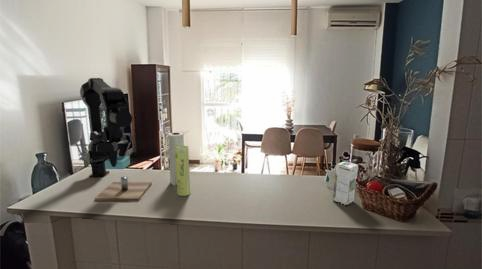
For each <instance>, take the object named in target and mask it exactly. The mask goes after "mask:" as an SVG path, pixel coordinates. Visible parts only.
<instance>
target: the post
mask: <svg viewBox="0 0 482 269" xmlns="http://www.w3.org/2000/svg"><path fill="white" fill-rule="evenodd" d="M120 182H121V188H122V191H127V190H128V182H129V181H128V176H122V177H120Z"/></svg>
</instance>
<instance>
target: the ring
mask: <svg viewBox="0 0 482 269" xmlns="http://www.w3.org/2000/svg"><path fill="white" fill-rule="evenodd" d="M130 158H131V157H130V156H129V155H128V156H126V155H125V156H119V155H118V159H117V163H116V166H115V167H112V165H111V163H110V161H109V159H108V160H106V161H105V169H106V170H124V169H126V168H127V167H129V165H130V164H131V159H130Z"/></svg>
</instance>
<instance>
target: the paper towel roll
mask: <svg viewBox="0 0 482 269" xmlns="http://www.w3.org/2000/svg"><path fill="white" fill-rule="evenodd" d="M184 142H185V141H184V133H183V132H176V131H175V132H170V133H168V153H169V154H168V155H169V156H168V157H169V158H168V159H169V161H168V162H169V173H170V174H169V176H170V178H169V180H170V181H169V182H170V184H171V185H172V186H174V187H176V186H177V176H176V155H175V144H178V145H183V146H185V145H184V144H185V143H184Z"/></svg>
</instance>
